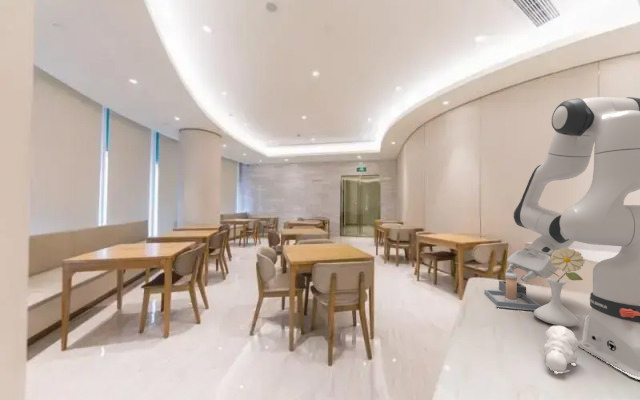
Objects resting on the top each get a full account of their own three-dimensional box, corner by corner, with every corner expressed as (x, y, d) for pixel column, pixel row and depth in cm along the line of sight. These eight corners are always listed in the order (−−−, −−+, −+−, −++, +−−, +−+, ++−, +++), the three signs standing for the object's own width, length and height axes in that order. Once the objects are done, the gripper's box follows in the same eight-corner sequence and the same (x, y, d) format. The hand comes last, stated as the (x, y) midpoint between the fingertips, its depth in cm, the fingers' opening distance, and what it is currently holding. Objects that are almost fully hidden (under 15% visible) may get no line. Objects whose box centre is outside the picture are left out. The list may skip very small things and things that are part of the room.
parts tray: (541, 312, 100) (541, 305, 100) (497, 308, 103) (497, 301, 103) (522, 299, 113) (522, 292, 113) (484, 295, 116) (484, 289, 116)
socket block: (526, 298, 114) (526, 287, 114) (505, 296, 116) (505, 285, 116) (517, 292, 121) (518, 282, 121) (498, 290, 123) (498, 280, 123)
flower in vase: (526, 318, 95) (527, 244, 95) (546, 313, 99) (547, 242, 99) (573, 335, 83) (574, 251, 83) (593, 329, 87) (595, 249, 87)
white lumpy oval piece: (579, 327, 69) (573, 349, 61) (579, 360, 69) (573, 387, 61) (546, 319, 73) (537, 338, 65) (546, 350, 74) (537, 373, 66)
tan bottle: (518, 304, 105) (519, 275, 105) (507, 303, 106) (507, 274, 106) (514, 301, 109) (514, 272, 109) (503, 300, 110) (503, 272, 110)
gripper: (518, 242, 118) (493, 264, 118) (556, 251, 97) (526, 278, 98) (529, 253, 117) (504, 275, 118) (569, 264, 97) (539, 291, 97)
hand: (514, 277), depth 108 cm, fingers open, 8 cm apart
